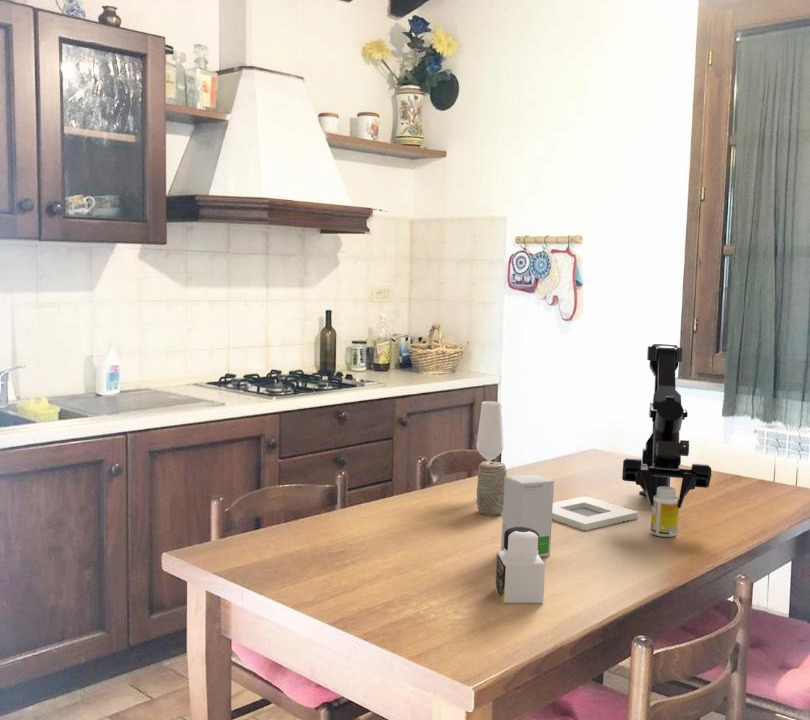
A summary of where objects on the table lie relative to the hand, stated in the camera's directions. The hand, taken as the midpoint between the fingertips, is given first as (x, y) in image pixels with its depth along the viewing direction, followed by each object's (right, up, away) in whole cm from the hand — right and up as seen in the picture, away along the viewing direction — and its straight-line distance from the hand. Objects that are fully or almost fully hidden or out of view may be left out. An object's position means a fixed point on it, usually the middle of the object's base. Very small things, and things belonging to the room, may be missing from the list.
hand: (665, 506), depth 191 cm
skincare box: (-32, -8, -13) cm, 36 cm away
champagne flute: (-36, -3, +27) cm, 45 cm away
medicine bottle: (-36, -10, -36) cm, 52 cm away
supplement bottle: (0, -7, +2) cm, 7 cm away
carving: (-37, -4, +15) cm, 40 cm away
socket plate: (-14, -5, +15) cm, 21 cm away
